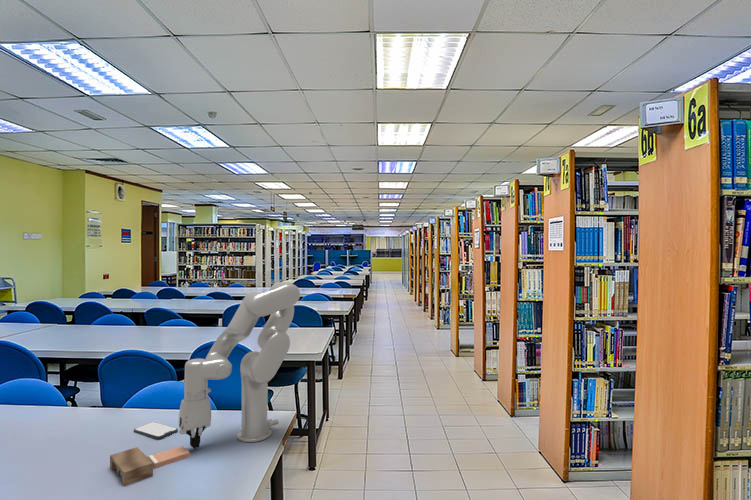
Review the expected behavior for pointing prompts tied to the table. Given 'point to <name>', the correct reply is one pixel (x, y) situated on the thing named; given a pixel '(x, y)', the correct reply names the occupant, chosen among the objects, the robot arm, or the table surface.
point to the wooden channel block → (131, 465)
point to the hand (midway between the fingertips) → (195, 446)
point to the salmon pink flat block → (169, 456)
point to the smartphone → (155, 430)
